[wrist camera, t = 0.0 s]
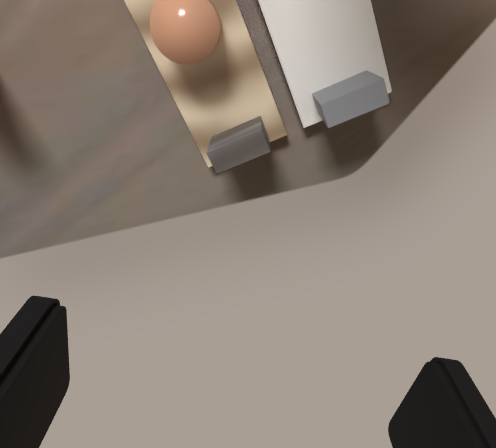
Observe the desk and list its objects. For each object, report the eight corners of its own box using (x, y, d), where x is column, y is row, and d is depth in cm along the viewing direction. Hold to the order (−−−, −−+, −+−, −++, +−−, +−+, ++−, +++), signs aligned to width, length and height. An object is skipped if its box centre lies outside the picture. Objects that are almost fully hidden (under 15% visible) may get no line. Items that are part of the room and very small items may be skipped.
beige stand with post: (126, -3, 38) (100, -8, 31) (216, -52, 36) (208, -68, 29) (209, 163, 46) (202, 187, 39) (286, 131, 44) (292, 151, 37)
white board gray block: (235, -62, 35) (232, -81, 29) (338, -117, 33) (359, -151, 27) (302, 124, 44) (311, 143, 37) (387, 89, 42) (413, 102, 35)
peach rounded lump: (150, 8, 37) (136, 7, 32) (205, -20, 36) (198, -26, 31) (179, 69, 39) (170, 75, 35) (231, 44, 38) (228, 47, 34)
